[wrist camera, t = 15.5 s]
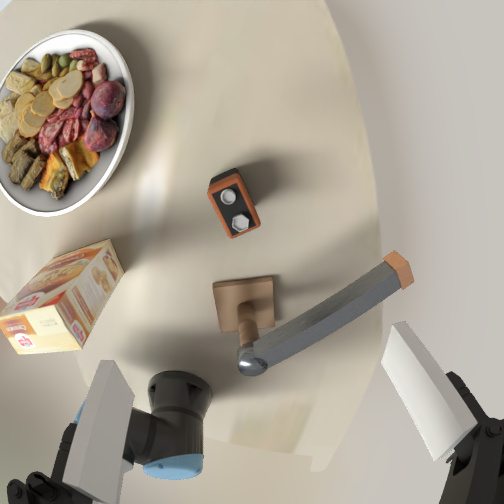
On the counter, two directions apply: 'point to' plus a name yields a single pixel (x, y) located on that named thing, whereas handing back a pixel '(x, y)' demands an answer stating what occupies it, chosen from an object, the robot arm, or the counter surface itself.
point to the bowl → (63, 121)
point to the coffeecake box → (62, 301)
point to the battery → (233, 203)
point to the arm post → (245, 306)
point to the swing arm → (326, 316)
